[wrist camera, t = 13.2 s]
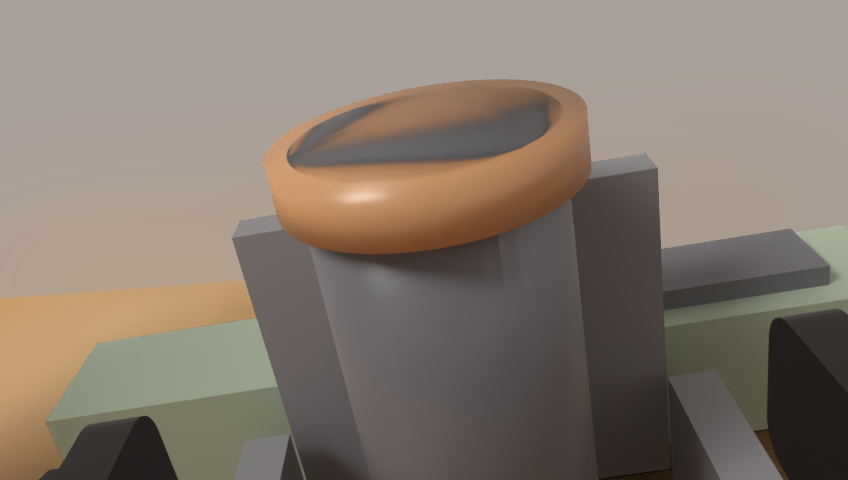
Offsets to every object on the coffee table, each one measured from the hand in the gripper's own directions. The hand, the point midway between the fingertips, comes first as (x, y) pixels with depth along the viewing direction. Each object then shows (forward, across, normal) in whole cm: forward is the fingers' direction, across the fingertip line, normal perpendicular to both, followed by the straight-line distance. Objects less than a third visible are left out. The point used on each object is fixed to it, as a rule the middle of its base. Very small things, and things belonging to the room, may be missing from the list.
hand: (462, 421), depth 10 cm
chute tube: (+5, 0, +10) cm, 11 cm away
